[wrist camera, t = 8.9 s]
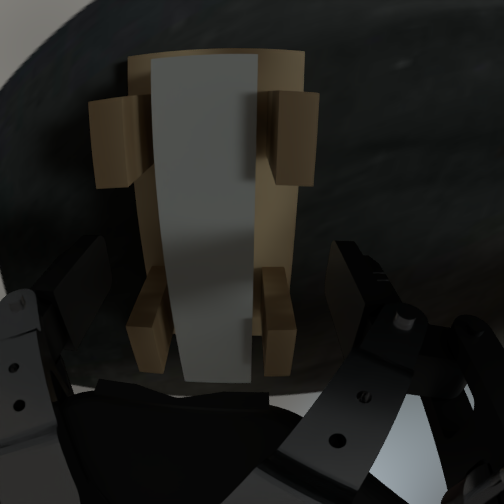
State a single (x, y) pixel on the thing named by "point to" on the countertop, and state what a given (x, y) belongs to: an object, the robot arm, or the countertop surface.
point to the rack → (266, 196)
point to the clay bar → (207, 206)
